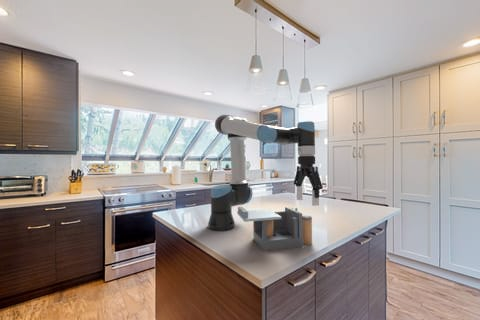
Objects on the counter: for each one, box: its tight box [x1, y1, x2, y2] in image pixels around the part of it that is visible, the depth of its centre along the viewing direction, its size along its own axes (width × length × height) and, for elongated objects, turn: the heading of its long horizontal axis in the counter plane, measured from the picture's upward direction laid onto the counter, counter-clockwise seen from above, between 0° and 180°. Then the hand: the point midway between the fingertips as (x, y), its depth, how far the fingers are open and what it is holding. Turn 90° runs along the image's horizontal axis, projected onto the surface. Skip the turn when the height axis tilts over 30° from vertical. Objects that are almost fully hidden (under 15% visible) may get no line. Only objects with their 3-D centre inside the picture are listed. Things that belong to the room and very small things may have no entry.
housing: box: [252, 206, 303, 252], centre depth 100 cm, size 14×18×14 cm
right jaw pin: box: [302, 215, 313, 246], centre depth 99 cm, size 4×4×12 cm
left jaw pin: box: [266, 220, 273, 237], centre depth 99 cm, size 4×4×12 cm
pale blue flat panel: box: [236, 206, 281, 223], centre depth 98 cm, size 14×16×4 cm
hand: (307, 202), depth 99 cm, fingers open, 13 cm apart
